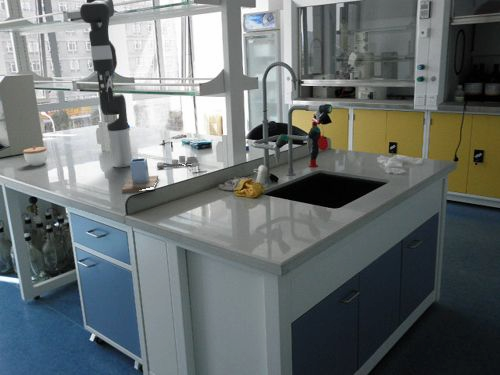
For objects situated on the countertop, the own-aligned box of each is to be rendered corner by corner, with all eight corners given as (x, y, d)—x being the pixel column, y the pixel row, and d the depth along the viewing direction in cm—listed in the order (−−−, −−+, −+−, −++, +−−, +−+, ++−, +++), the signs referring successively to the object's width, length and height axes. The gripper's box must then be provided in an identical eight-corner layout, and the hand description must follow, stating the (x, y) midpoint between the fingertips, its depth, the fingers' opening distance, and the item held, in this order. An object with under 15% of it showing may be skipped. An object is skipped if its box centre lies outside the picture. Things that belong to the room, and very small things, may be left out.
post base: (129, 181, 190) (126, 160, 188) (158, 179, 191) (156, 158, 188) (122, 193, 175) (119, 170, 173) (154, 190, 176) (151, 168, 173)
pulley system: (173, 162, 221) (151, 168, 209) (173, 153, 220) (151, 158, 208) (220, 169, 208) (199, 176, 195) (220, 159, 206) (199, 165, 194)
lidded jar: (52, 161, 237) (49, 143, 234) (43, 166, 227) (39, 147, 224) (32, 162, 238) (28, 144, 235) (21, 167, 227) (17, 148, 225)
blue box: (135, 180, 185) (132, 159, 182) (149, 179, 185) (146, 157, 183) (133, 184, 180) (129, 162, 177) (147, 183, 180) (144, 161, 177)
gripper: (108, 58, 171) (114, 102, 176) (115, 57, 185) (121, 98, 189) (87, 59, 171) (94, 103, 175) (96, 58, 184) (103, 99, 189)
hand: (108, 100), depth 182 cm, fingers open, 8 cm apart
